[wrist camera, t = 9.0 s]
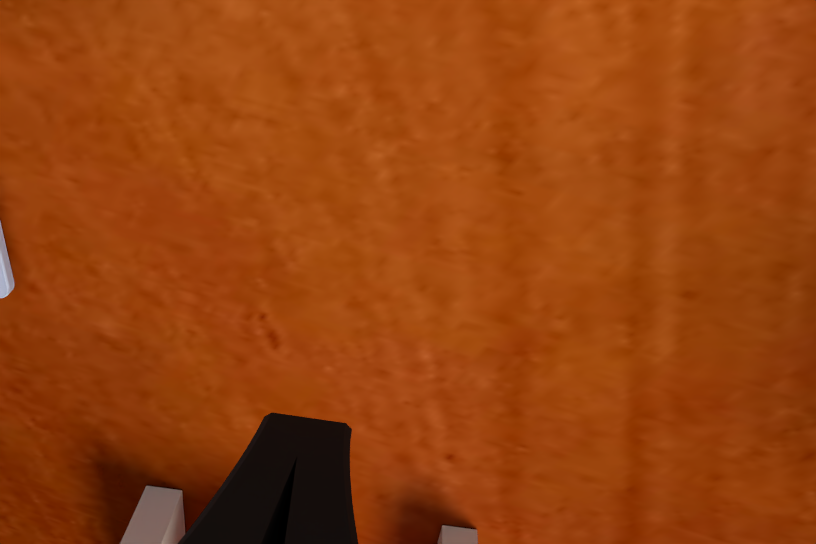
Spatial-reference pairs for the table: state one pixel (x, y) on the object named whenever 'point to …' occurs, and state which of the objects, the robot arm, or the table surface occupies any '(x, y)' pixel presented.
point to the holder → (164, 521)
